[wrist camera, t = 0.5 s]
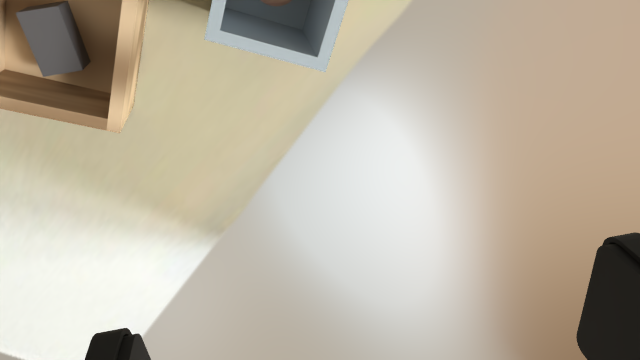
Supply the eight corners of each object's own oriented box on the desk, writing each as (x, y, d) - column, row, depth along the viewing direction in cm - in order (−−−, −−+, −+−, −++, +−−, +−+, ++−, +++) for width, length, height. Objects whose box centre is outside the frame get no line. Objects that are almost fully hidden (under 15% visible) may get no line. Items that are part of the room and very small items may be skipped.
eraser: (27, 6, 31) (15, 12, 29) (67, 0, 31) (57, 6, 29) (53, 68, 33) (43, 76, 31) (90, 61, 33) (82, 70, 31)
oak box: (-4, -67, 29) (-45, -63, 25) (151, -22, 32) (139, -10, 27) (-6, 74, 33) (-42, 100, 29) (133, 105, 35) (119, 133, 31)
